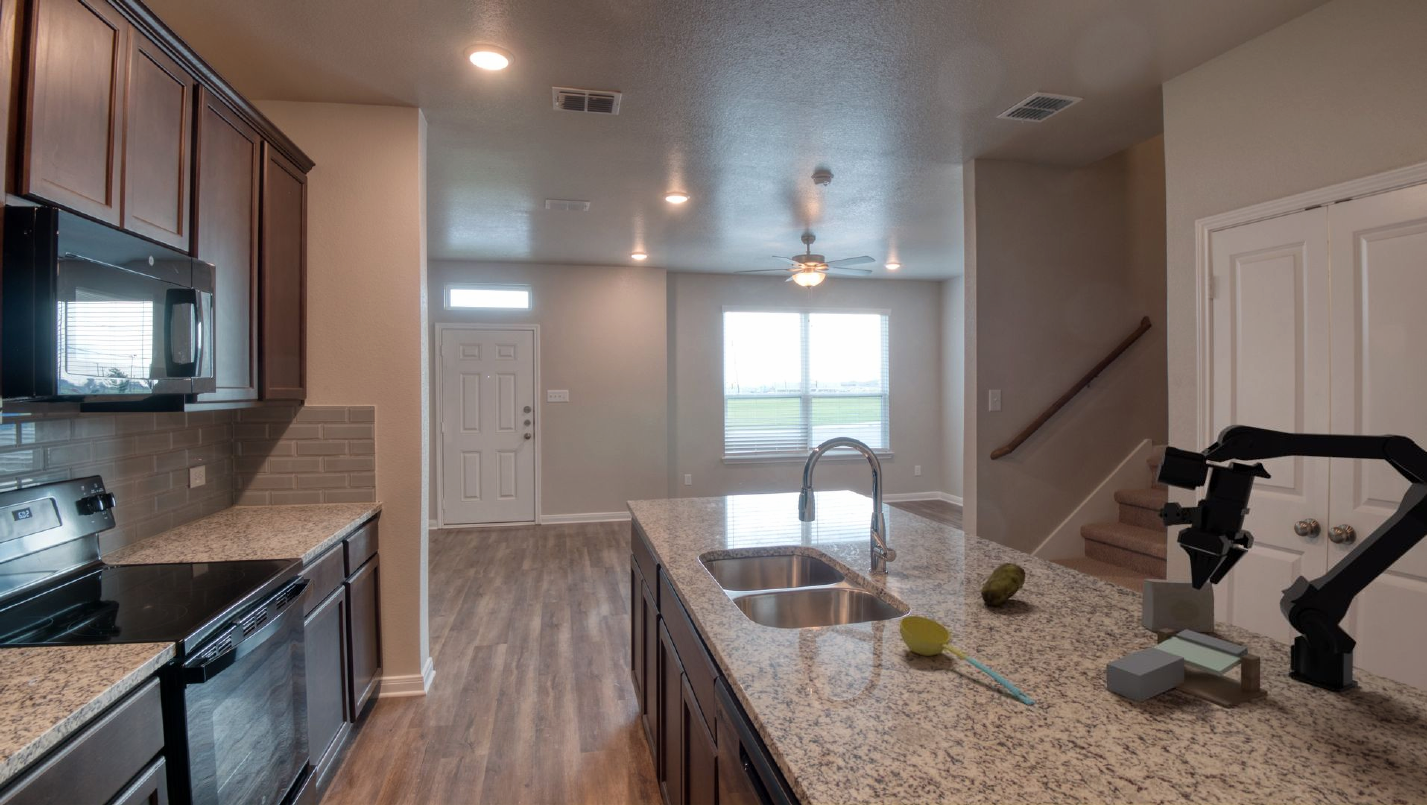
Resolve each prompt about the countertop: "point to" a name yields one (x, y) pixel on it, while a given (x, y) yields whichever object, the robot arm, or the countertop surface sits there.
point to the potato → (1003, 583)
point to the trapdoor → (1204, 651)
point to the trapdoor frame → (1220, 680)
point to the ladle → (943, 646)
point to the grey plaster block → (1177, 606)
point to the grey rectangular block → (1145, 673)
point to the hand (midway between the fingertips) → (1204, 586)
